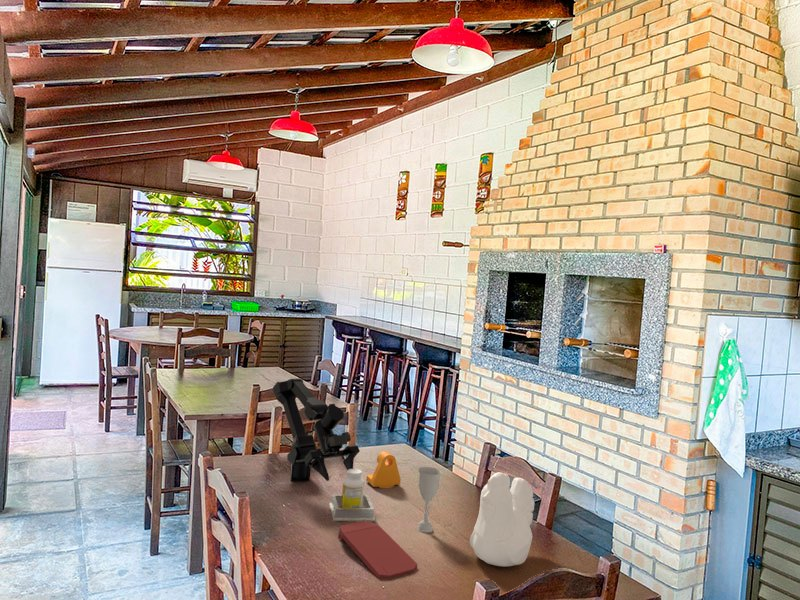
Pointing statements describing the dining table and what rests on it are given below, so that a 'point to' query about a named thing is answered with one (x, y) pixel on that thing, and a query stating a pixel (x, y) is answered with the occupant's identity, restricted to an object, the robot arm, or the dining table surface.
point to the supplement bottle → (352, 489)
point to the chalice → (428, 493)
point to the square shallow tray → (351, 510)
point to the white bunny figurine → (504, 521)
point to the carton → (377, 549)
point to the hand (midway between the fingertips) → (340, 478)
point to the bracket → (385, 472)
